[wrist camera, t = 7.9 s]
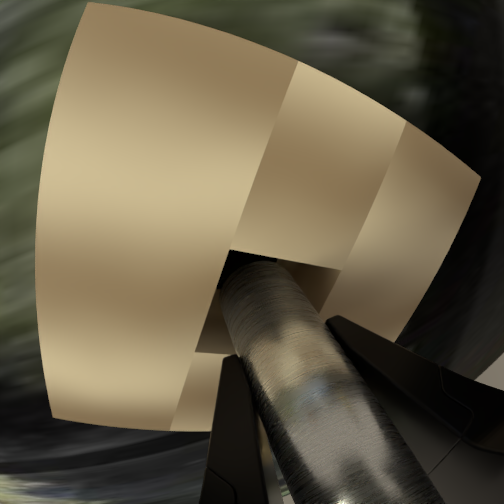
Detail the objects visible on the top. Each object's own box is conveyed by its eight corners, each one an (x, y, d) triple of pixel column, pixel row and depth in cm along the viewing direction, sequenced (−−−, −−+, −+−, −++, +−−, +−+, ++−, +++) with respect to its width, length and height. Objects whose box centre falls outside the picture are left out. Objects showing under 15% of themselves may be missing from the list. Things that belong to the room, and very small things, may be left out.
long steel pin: (276, 326, 12) (397, 548, 4) (209, 320, 11) (307, 590, 3) (304, 267, 11) (477, 503, 3) (233, 254, 10) (394, 567, 2)
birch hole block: (307, 369, 19) (334, 419, 15) (63, 351, 13) (53, 417, 10) (418, 151, 13) (481, 177, 10) (111, 31, 8) (88, 2, 4)
